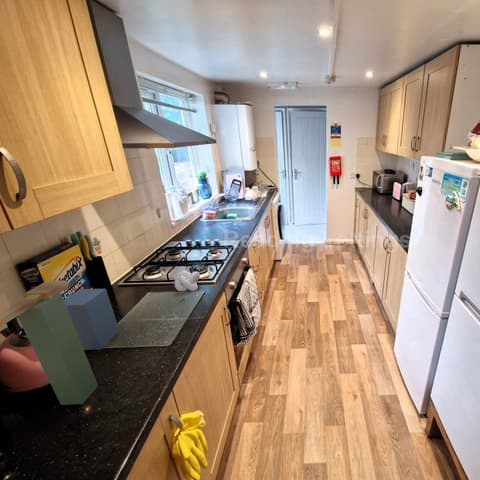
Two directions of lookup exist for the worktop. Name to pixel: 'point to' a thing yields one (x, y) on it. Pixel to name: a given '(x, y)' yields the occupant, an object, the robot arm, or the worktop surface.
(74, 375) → the green block
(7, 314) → the tan slab
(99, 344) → the blue box
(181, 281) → the white knot
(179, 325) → the worktop surface
